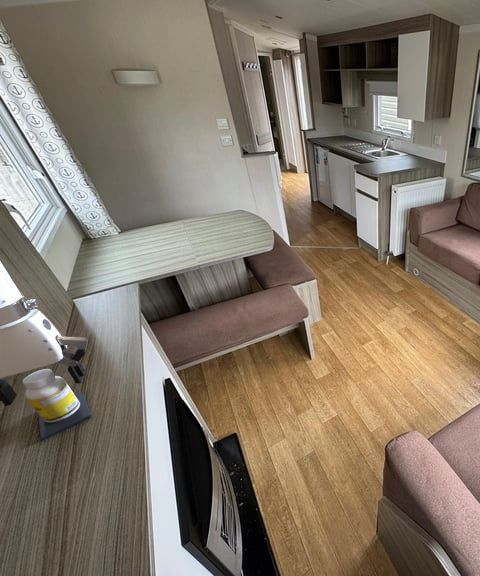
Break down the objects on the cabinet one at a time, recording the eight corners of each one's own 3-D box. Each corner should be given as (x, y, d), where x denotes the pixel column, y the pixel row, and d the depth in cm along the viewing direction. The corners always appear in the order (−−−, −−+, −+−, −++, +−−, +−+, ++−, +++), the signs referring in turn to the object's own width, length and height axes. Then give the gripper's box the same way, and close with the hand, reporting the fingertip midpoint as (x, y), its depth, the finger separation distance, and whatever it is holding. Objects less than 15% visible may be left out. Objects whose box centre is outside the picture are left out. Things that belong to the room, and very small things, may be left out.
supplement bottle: (43, 413, 61) (16, 376, 57) (79, 397, 65) (56, 362, 61) (44, 428, 58) (16, 390, 54) (82, 411, 62) (58, 375, 57)
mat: (39, 412, 62) (37, 409, 62) (84, 392, 67) (82, 390, 67) (42, 440, 56) (40, 438, 56) (91, 417, 61) (90, 415, 61)
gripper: (69, 292, 58) (107, 361, 66) (-73, 320, 49) (-11, 397, 57) (60, 308, 53) (102, 382, 60) (-102, 343, 44) (-29, 424, 52)
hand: (47, 389), depth 59 cm, fingers open, 9 cm apart
